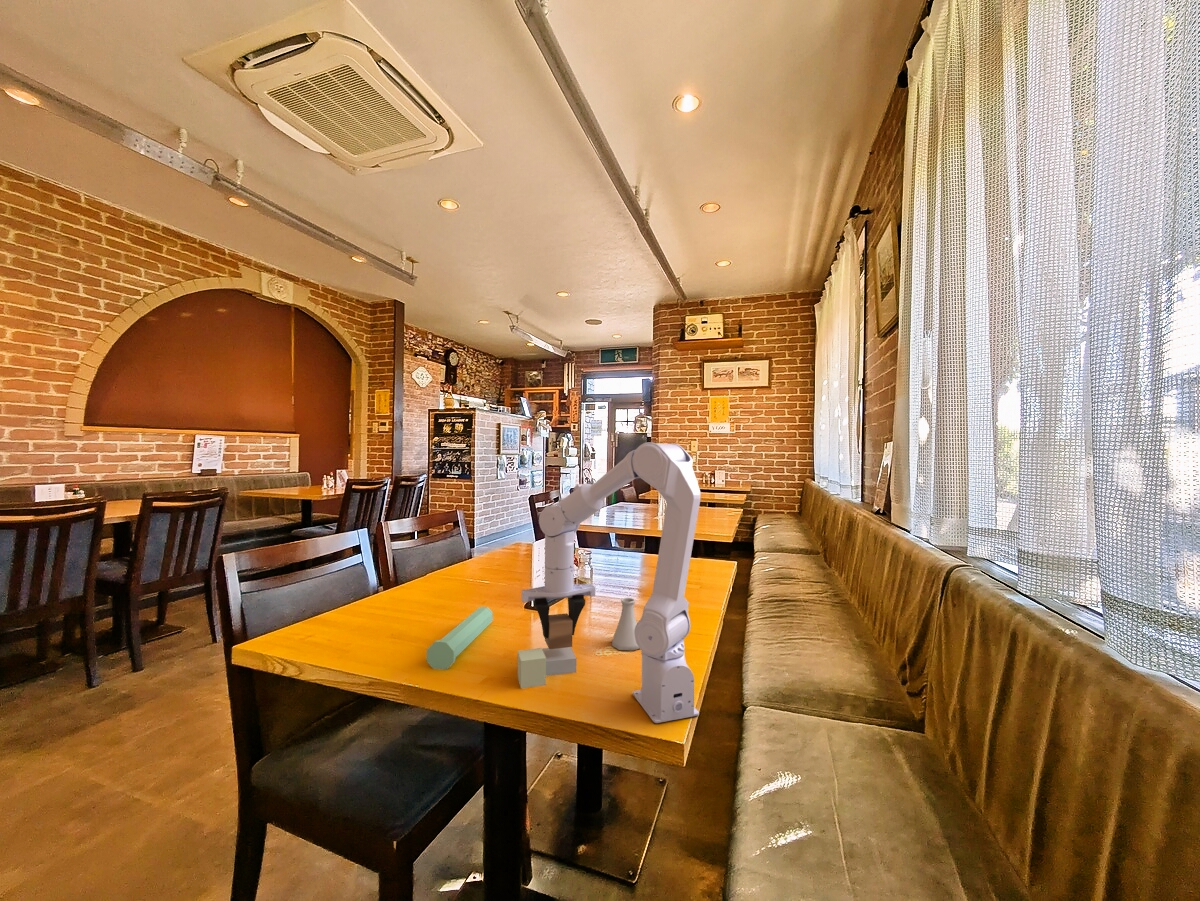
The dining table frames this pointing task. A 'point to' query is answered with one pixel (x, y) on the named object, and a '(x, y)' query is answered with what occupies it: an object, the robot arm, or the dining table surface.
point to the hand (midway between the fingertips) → (558, 635)
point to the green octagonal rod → (458, 639)
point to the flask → (626, 627)
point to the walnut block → (559, 631)
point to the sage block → (531, 668)
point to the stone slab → (560, 661)
